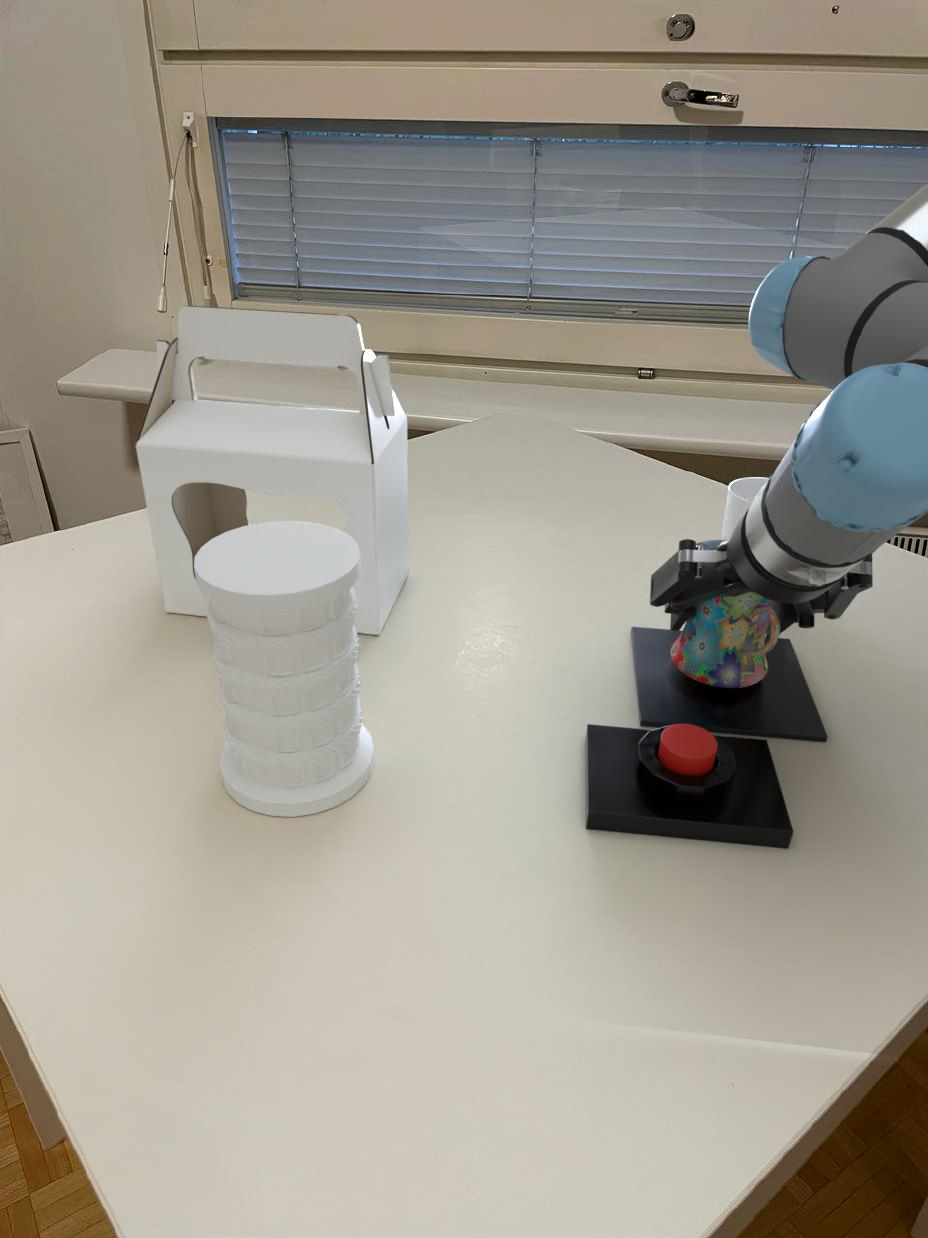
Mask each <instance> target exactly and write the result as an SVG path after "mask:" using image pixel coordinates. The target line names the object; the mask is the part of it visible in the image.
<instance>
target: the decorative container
mask: <svg viewBox="0 0 928 1238" xmlns="http://www.w3.org/2000/svg"><path fill="white" fill-rule="evenodd" d="M194 571H195V577H196V584H197V586H198V588H199V589H200V591H201V593H202V594H203V595H204V596H206V597H207V598H208V599H210V600H209V602H208V608H207V617H206V618H207V623H208V625H209V627H210V630H211V632H212V634H213V635H214V637H215V639H214V641H213V647H212V648H213V649H212V657H213V663H214V665H215V667H216V669H217V671H218V674H219V675H220V678H219V684H218V697H219V701H220V704H221V705H222V708H223V710H224V712H225V714H224V721H223V731H224V736H225V738H226V740H225V742H224V744H223V746H222V749H221V751H220V753H219V771H220V777H221V782H222V784H223V786H224V788H225V791H226V792H227V794H228V795H229V796H230V797H231V798H232V799H233V800H234V801H235V802H236V803H237V804H239V805H240V806H242V807H244V808H246V809H247V810H249V811H252V812H255V813H259V814H263V815H266V816H271V817H287V818H288V817H289V818H290V817H291V818H295V817H296V818H297V817H303V816H308V815H315V814H318V813H322V812H324V811H327V810H331V809H334V808H336V807H337V806H339V805H341V804H343V803H345V802H346V801H348V800H350V799H352V798H353V797H354V796H355V795H356V794H358V792H360V790H361V789H363V787H365V785H366V783H367V782H368V780H369V778H370V777H371V775H372V773H373V769H374V764H375V747H374V743H373V738H372V734H371V733H370V732H369V730H368V729H367V727H366V726H365V725H364V724H363V722H362V721H363V720H364V717H363V716H362V714H363V709H362V705H361V702H360V699H359V694H360V691H361V685H362V682H361V680H360V679H361V678H362V676H361V675H360V669H359V666H358V663H357V660H358V655H359V648H360V645H359V642H360V638H359V637H358V633H357V632H356V628H355V626H354V625H353V624H354V621H355V618H356V609H357V608H358V607H357V606H356V602H357V600H356V597H355V596H356V595H355V593H354V589H353V587H352V586H353V585H354V584H355V583H356V582H357V581H358V579H359V576H360V572H361V553H360V550H359V546H358V544H357V543H356V542H355V540H354V539H353V538H352V537H351V536H350V535H348V534H346V533H344V532H343V530H341V529H339V528H336V527H332V526H331V525H326V524H323V523H317V522H310V521H301V520H277V521H276V520H275V521H264V522H259V523H254V524H253V523H252V524H250V525H247V526H243V527H240V528H237V529H233V530H230V531H227V532H225V533H223V534H221V535H219V536H217V537H215V538H213V539H211V540H210V541H209V542H207V543H206V544H205V545H203V546H202V547H201V548H200V550H199V551H198V553H197V554H196V556H195V557H194Z"/></svg>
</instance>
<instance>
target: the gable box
mask: <svg viewBox="0 0 928 1238" xmlns="http://www.w3.org/2000/svg"><path fill="white" fill-rule="evenodd" d="M155 344H156V346H155V347H156V359H157V370H158V373H157V376H156V380H155V383H154V386H153V388H152V392H151V393H150V398H149V401H148V404H147V407H146V410H145V412H144V416H143V419H142V422H141V425H140V428H139V431H138V434H137V437H136V440H135V443H134V446H135V450H136V456H137V461H138V462H137V463H138V467H139V472H140V478H141V479H140V480H141V483H142V489H143V495H144V501H145V506H146V512H147V517H148V522H149V528H150V534H151V539H152V545H153V551H154V556H155V561H156V566H157V573H158V578H159V583H160V589H161V595H162V600H163V605H164V606H163V607H164V611H165V612H166V613H169V614H176V615H177V614H179V615H187V616H196V617H205V618H207V608H208V602H209V600H210V599H208V598H207V597H206V596H204V595H203V594H202V593H201V591H200V589H199V588H198V586H197V584H196V577H195V571H194V557H195V556H196V554H197V553H198V551H199V550H200V548H201V547H202V546H203V545H205V544H206V543H207V542H209V541H210V540H211V539H213V538H215V537H217V536H219V535H221V534H223V533H225V532H227V531H230V530H233V529H237V528H240V527H243V526H247V525H251V524H250V523H249V520H248V518H247V516H248V515H247V507H248V499H247V492H246V491H249V492H252V493H259V494H262V495H269V496H293V495H294V496H295V495H311V496H318V497H323V498H324V497H325V498H327V499H330V500H332V501H334V502H336V503H337V504H339V505H340V506H341V508H342V509H343V511H344V513H345V525H344V529H343V530H342V532H344V533H346V534H348V535H350V536H351V537H352V538H353V539H354V540H355V542H356V543H357V544H358V546H359V550H360V553H361V572H360V576H359V579H358V581H357V582H356V583H355V584H354V585H353V586H352V587H353V589H354V593H355V595H356V596H355V597H356V600H357V602H356V606H357V607H358V608H357V609H356V618H355V621H354V624H353V625H354V626H355V628H356V632H357V634H362V635H363V634H364V635H371V636H379V635H380V634H381V632H382V631H383V628H384V626H385V623H386V622H387V620H388V618H389V615H390V613H391V611H392V609H393V607H394V605H395V603H396V601H397V598H398V596H399V594H400V592H401V590H402V588H403V586H404V583H405V582H406V579H407V577H408V575H409V572H410V543H409V542H410V541H409V537H410V535H409V532H410V531H409V530H410V529H409V462H408V461H409V458H408V457H409V456H408V455H409V453H408V452H409V451H408V449H409V448H408V417H407V415H406V413H405V411H404V409H403V407H402V405H401V403H400V401H399V399H398V397H397V395H396V393H395V391H394V389H393V387H392V377H391V367H390V357H389V354H377V355H376V354H375V352H374V351H373V350H372V349H365V346H364V340H363V325H361V324H360V323H359V321H358V319H356V317H354V316H353V315H350V314H338V313H325V312H323V313H322V312H306V311H305V312H303V311H291V310H290V311H287V310H274V309H273V310H271V309H255V308H254V309H253V308H238V307H224V306H223V307H220V306H205V305H204V306H203V305H185V306H184V307H182V308H180V310H179V312H178V315H177V337H176V338H174V339H173V340H172V341H171V342H169V341H168V340H166V339H157V340H156V341H155ZM197 359H198V360H200V361H203V362H207V361H208V360H216V361H229V362H244V363H259V364H272V365H273V364H276V365H288V366H302V367H319V368H333V369H338V370H339V371H347V370H350V371H351V372H352V373H353V374H354V376H355V377H356V380H357V385H358V404H359V405H358V406H359V407H358V408H359V411H357V410H345V409H332V408H331V409H330V408H317V407H314V408H313V407H304V406H303V407H302V406H290V405H289V406H288V405H277V404H276V405H275V404H265V403H264V404H262V403H251V402H250V403H248V402H238V401H237V402H236V401H223V400H222V401H221V400H210V399H209V400H208V399H199V398H198V397H199V396H198V392H197V386H196V381H195V376H194V370H193V363H194V362H195V361H196V360H197Z"/></svg>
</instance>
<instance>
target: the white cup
mask: <svg viewBox="0 0 928 1238" xmlns="http://www.w3.org/2000/svg"><path fill="white" fill-rule="evenodd" d="M769 478H770V477H759V476H757V477H755V476H754V477H751V476H750V477H742V478H738V479H735V480H733V481H731V482H730V483H729V485H728V488H727V496H726V502H725V510H724V516H723V523H722V532H721V540H730V538H731V536H732V534H733V531H734V529H735V527H736V525H737V524H738V522H739V521H740V519H741V518H742V516H743V515H744V513H745V512H746V511H747V509H748V508H749V506H750V505H751V504H752V502H753V500H754V499H755V497H756V495H757V494H758V493H759V491H760V490H761V489H762V487H763V486H764V485H765V483H766V482H767V481H768V479H769Z"/></svg>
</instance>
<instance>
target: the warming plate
mask: <svg viewBox="0 0 928 1238" xmlns="http://www.w3.org/2000/svg"><path fill="white" fill-rule="evenodd" d="M682 631H683V630H682V629H680V630H679V631H674V630H670V629H666V628H653V627H644V626H643V627H642V626H631V628H630V634H631V645H632V656H633V666H634V667H633V669H634V677H635V687H636V697H637V709H638V718H639V719H638V721H639V726H640V727H646V728H655V729H658V728H661V727H665V726H670V725H675V724H690V725H695V726H698V727H701V728H703V729H705V730H707V731H708V732H709V733H713V734H726V735H737V736H750V737H762V738H771V739H772V738H773V739H781V740H782V739H784V740H794V741H795V740H796V741H805V742H806V741H807V742H817V743H818V742H819V743H827V742H828V738H829V737H828V734H827V731H826V728H825V726H824V723H823V721H822V718H821V716H820V713H819V711H818V708H817V705H816V703H815V701H814V698H813V697H814V696H813V695H812V692H811V690H810V688H809V685H808V682H807V680H806V677H805V675H804V674H805V673H804V672H803V669H802V666H801V663H800V661H799V658H798V656H797V653H796V651H795V649H794V646H793V643H792V640H791V638H783V637H779V638H778V641H777V643H776V645H775V646H774V647H773V648H772V649H771V650H770V651H769V652H768V653H766V654H765V658H766V661H767V665H768V670H767V673H766V675H765V676H764V678H763V679H762V680H760V681H759V682H757V683H756V684H753V685H751V686H747V687H742V688H721V687H715V686H710V685H707V684H704V683H701V682H698V681H696V680H694V679H692V678H690V677H688V676H687V675H685V674H684V673H682V672H681V671H680V670H679V669H678V668H677V667H676V666H675V664H674V662H673V661H672V658H671V647H672V645H673V644H674V642H675V641H676V640H677V639H678V638H679V636H680V635H681V633H682ZM768 640H769V638H766V636H765V641H764V646H765V645H766V643H767V642H768Z"/></svg>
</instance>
